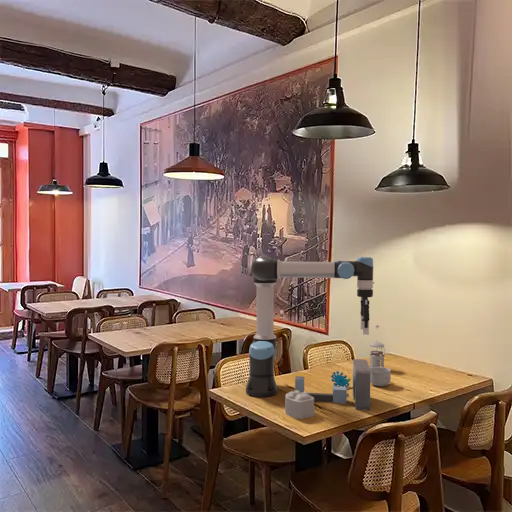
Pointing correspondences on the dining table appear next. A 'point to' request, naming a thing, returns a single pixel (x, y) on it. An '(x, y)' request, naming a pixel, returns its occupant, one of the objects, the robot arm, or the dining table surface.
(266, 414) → the dining table surface
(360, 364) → the block
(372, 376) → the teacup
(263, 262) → the robot arm
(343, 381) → the blue spiked virus model
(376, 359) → the french press
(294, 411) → the lumpy-topped squat cylinder
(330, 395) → the blue-grey u-shaped block
